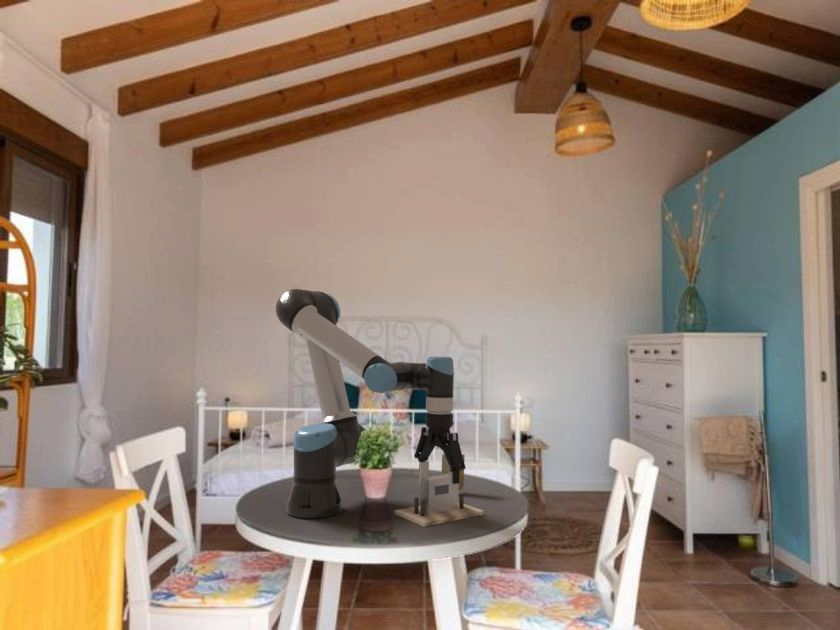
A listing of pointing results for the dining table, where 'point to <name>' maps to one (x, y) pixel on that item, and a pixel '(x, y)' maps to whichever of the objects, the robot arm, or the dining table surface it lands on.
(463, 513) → the pin tray
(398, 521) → the dining table surface
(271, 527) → the dining table surface
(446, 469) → the skincare box
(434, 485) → the drive
